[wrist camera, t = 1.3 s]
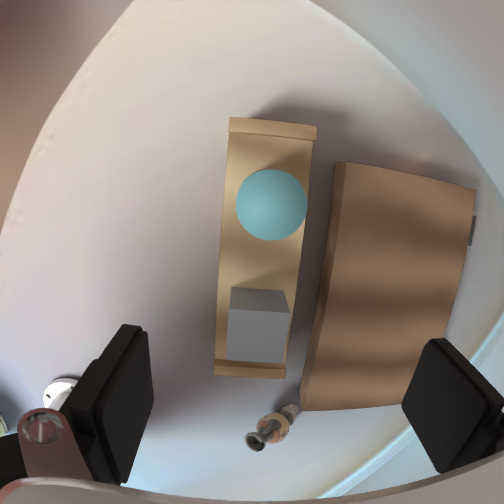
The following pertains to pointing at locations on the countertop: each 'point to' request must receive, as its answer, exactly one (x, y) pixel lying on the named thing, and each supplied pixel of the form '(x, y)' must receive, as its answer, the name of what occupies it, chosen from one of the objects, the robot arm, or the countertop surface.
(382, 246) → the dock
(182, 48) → the countertop surface
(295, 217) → the teal cylinder
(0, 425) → the coffee can
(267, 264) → the light wood long block
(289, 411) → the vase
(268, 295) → the grey cube
